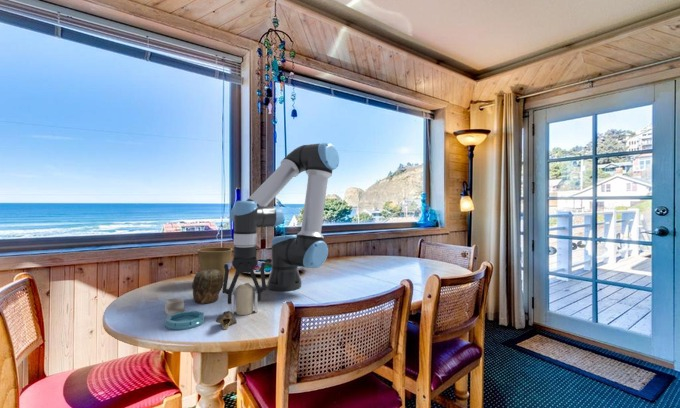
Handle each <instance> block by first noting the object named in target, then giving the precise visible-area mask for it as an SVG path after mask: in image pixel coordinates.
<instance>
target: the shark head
mask: <svg viewBox="0 0 680 408" xmlns="http://www.w3.org/2000/svg"><path fill="white" fill-rule="evenodd" d="M216 317H217V318H216V320H215V322H216V323H219V324H221V325H222V329H223V330H224V331H225V330H228V329H229V326H230V325H235V324H237V320H236V317H235V316H234V314H233V312H231V310H226V311H223V314H219V315H218V316H216Z"/></svg>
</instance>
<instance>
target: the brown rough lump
mask: <svg viewBox="0 0 680 408" xmlns="http://www.w3.org/2000/svg"><path fill="white" fill-rule="evenodd" d="M223 283H224V282H223V275H222V273H221V272H220V271H219V270H214V269H213V270H209V269H208V270H202V271H201V270H200V271H198V272H197V273H196V274H195V276H194V277H193V279H192V285H191V288H192V298H193V300H194V303H196V304H212V303H215V302H216V301H218V299H219V298H220V296H219V294H220V293H221V291H222V290H223Z"/></svg>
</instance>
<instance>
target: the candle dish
mask: <svg viewBox="0 0 680 408" xmlns="http://www.w3.org/2000/svg"><path fill="white" fill-rule="evenodd" d="M204 322H205V314H204V312H201V311H197V310H184V312H178V313H175V314H172V315H167V317H166V319H165V322H164V323H165V325H164V326H165V328H166V329H169V330H173V331H182V330H183V331H184V330H190V329H193V328H194V329H195V328H197V327H199V326H201V325H203V324H204Z"/></svg>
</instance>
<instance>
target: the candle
mask: <svg viewBox="0 0 680 408" xmlns="http://www.w3.org/2000/svg"><path fill="white" fill-rule="evenodd" d="M235 290H236V292H235V293H236V298H235V310H236V311H235V313H236V315H238V316H246V315H247V316H249V315H250V314H253V311H254V303H253V302H254V287H253V285H251V284H250V283H249V282H246V283H243V284H239V285H238V286H237V287H236V288H235Z"/></svg>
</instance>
